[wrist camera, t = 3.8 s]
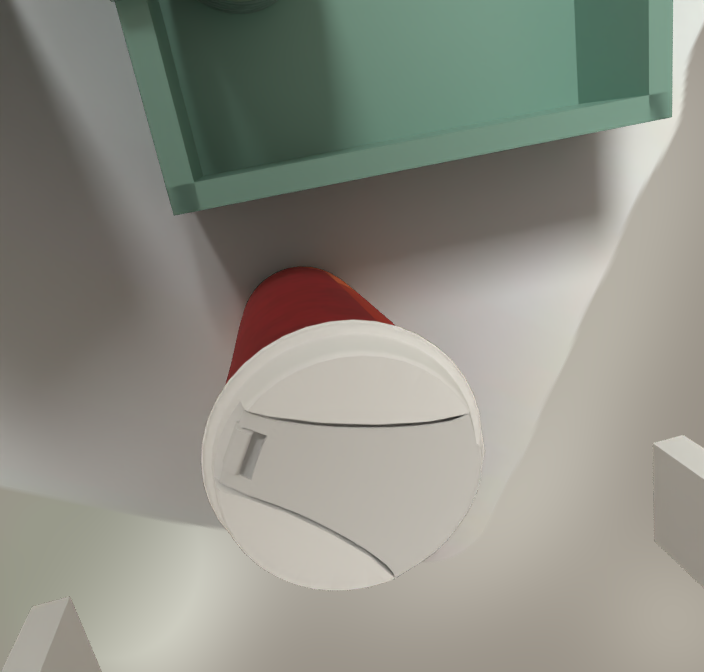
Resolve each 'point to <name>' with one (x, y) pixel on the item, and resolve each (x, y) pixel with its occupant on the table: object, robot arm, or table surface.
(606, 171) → the table surface
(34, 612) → the robot arm
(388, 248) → the table surface
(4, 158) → the table surface
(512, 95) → the tote
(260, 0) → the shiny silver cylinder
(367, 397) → the coffee cup
